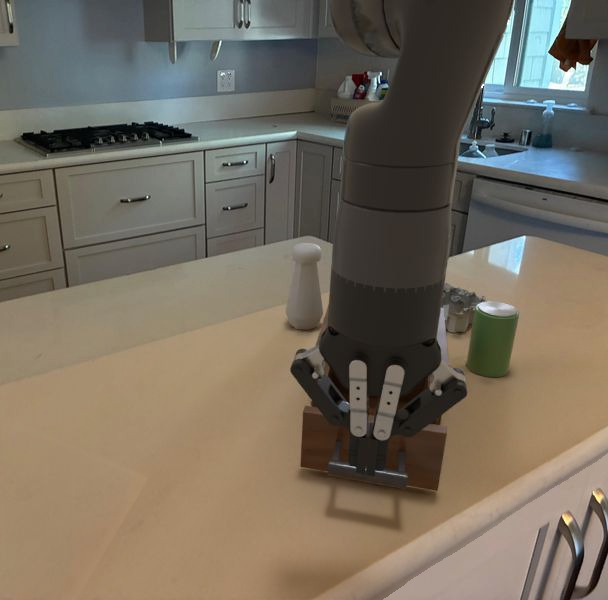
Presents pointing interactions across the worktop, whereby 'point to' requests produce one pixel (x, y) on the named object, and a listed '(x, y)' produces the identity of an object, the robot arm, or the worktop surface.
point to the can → (492, 338)
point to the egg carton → (459, 307)
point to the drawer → (400, 453)
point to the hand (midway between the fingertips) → (366, 469)
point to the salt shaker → (305, 288)
